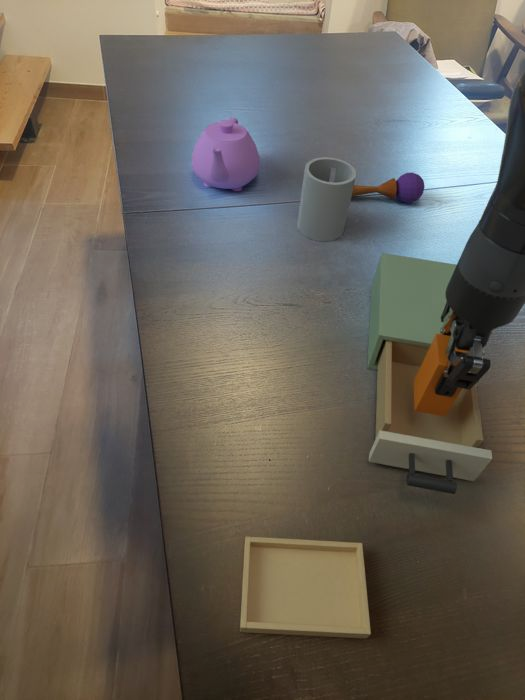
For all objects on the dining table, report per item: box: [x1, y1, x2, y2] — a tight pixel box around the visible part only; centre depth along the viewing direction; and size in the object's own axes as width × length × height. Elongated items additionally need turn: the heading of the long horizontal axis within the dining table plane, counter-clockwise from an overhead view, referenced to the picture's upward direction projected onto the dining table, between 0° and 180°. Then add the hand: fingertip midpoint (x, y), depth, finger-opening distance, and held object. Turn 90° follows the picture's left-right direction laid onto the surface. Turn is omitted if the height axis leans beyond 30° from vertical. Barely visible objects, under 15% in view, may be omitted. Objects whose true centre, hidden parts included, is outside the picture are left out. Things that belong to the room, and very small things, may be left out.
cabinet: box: [366, 252, 486, 371], centre depth 79 cm, size 19×15×8 cm
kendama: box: [351, 172, 425, 204], centre depth 105 cm, size 6×6×20 cm
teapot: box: [191, 117, 261, 192], centre depth 103 cm, size 20×14×12 cm
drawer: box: [368, 340, 493, 495], centre depth 67 cm, size 22×13×6 cm, turn 170°
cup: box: [296, 156, 357, 242], centre depth 95 cm, size 9×9×12 cm
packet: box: [414, 333, 469, 417], centre depth 63 cm, size 5×4×10 cm
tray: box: [239, 536, 372, 639], centre depth 55 cm, size 13×9×2 cm
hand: (441, 375), depth 63 cm, fingers closed on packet, 5 cm apart
